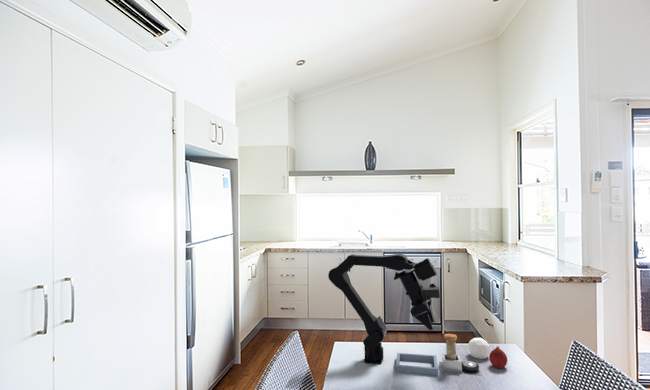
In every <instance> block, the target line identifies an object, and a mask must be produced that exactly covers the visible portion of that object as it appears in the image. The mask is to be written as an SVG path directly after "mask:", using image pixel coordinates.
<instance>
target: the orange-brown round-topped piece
mask: <svg viewBox="0 0 650 390" xmlns="http://www.w3.org/2000/svg"><path fill="white" fill-rule="evenodd" d="M443 336H444V340H445V348H446V349H445V351H446V354H447V360H456V355H457V340H458V336H457V335H456V334H453V333H445V334H444V335H443Z"/></svg>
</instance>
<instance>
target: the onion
mask: <svg viewBox="0 0 650 390" xmlns="http://www.w3.org/2000/svg"><path fill="white" fill-rule="evenodd" d="M488 358H489V361H490V363H491V365H492V366H493V367H494V368H496V369H503V368H505V367H506V365H507V364H508V356H507V353H505V352H504V350H502V349H501V348H500V346H498V345H496V347H495V348H494V349H492V350H490V354H489V355H488Z"/></svg>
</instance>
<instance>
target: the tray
mask: <svg viewBox="0 0 650 390" xmlns="http://www.w3.org/2000/svg"><path fill="white" fill-rule="evenodd" d="M437 360H438V359H437V355H435V354H421V353H406V352H405V353H404V352H397V353H396V361H395V372H396V373H407V374H417V375H418V374H419V375H432V376H439V367H438V361H437ZM401 361H414V362H415V361H417V362H429V363H433V367H431V366H422V365H421V366H417V365H404V364H401Z"/></svg>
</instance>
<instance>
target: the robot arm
mask: <svg viewBox="0 0 650 390" xmlns="http://www.w3.org/2000/svg"><path fill="white" fill-rule="evenodd" d="M354 266H363V267H381V268H386V269H389V270H393V271H395V272H394V278H393V281H396V280H398V279H399V280H400V282H401V284H402V286H403V288H404V290H405V295H406V296H407V297H408V298H409V301H410V304H411V308H410V310H409V312H410V315H411V316H412V317H413V318H414V319H416V320H417V321H419V322H420V323H421V324H422V326H423V325H424V326H425V327H426V328H427V329H428V330H429V331H433V329H434V328H433V325H432V324H433V323H434V322H435V319H434V316H433V312H432V309H431V304H432V299H440V298H441V291H440V287H439V286H437V285H436V284H435V283H433V282H432V283H430V284H429V286H426V287H424V285H423V284H421V283H420V282H419V281H422V282H424V281H427V280H429V279H431V278H433V277H436V276H438V273H437V271H436V269H435V266H434V264H432V262H431V261H430V259H429V258H428V257H427V258H425V259H422V260H421V261H419V262H417V263H415V262H414V261H411V260H410V259H408V257H407V256H406V254H404V253H396V254H389V255H363V254H362V255H360V254H350V255H348V256H347V257H346V258H345V259H344V260H343V261H341V263H340V264H338V265H337V266H336V267H333V268H331V269H329V271H328V275H327V277H328V280H329V281H330V283H332V284H333V286H335V287H336V288H337V289H338V290H339V291H341V292H342V293H343V295H344V296H345V298H346V299H347V300H348V301H349V303H350V305H351V306H352V308H353V310H355V313H356V314H357V315H358V316H359V318H360V319H361V321H362V322H363V325H364V328H365V331H366V334H367V335H366V336H365V337H364V339H363V341H362V343H363V346H364V347H363V349H364V360H363V363H367V364H383V363H382V362H383V361H384V347H383V346H382V341H383V340H384V338H385V336H386V335H387V332H388V331H387V327H386V325H387V323H386V322H384V321H383V319H382V317H381V316H380V315H379V316H378V317H377V316H375V315H374V314H373V313H372V311H371V310H370V309H369V308H368V306H367V305H366V303H365V302H364V301H363V299H362V298H361V296H360V295H359V293H358V292H357V290H356V289H355V288H354V286H353V284H352V283H351V279H350V276H349V274H348V272H349V271H350V270H351V269H352V268H353V267H354ZM418 280H419V281H418Z"/></svg>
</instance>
